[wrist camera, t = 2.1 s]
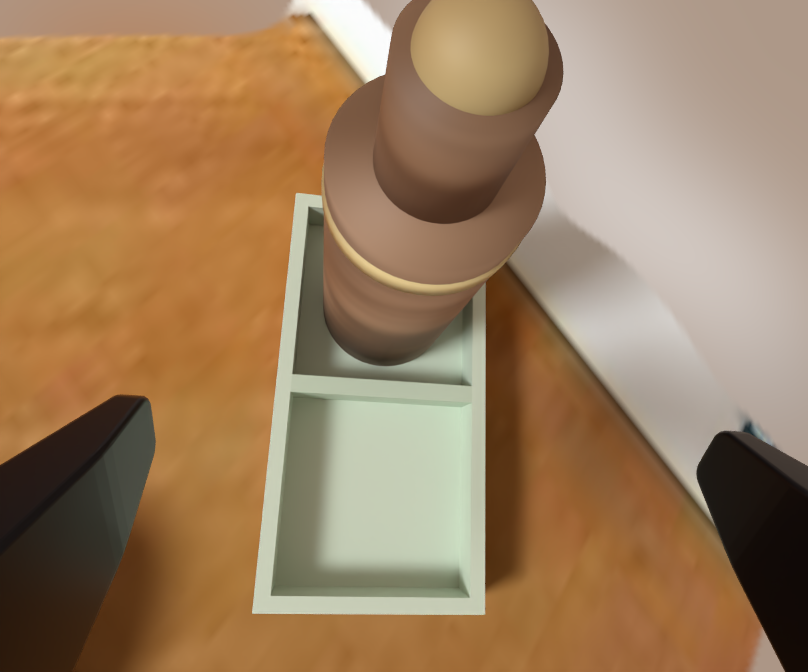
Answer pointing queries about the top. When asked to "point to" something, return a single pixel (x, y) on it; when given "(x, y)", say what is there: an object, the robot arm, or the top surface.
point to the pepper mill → (434, 172)
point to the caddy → (371, 463)
